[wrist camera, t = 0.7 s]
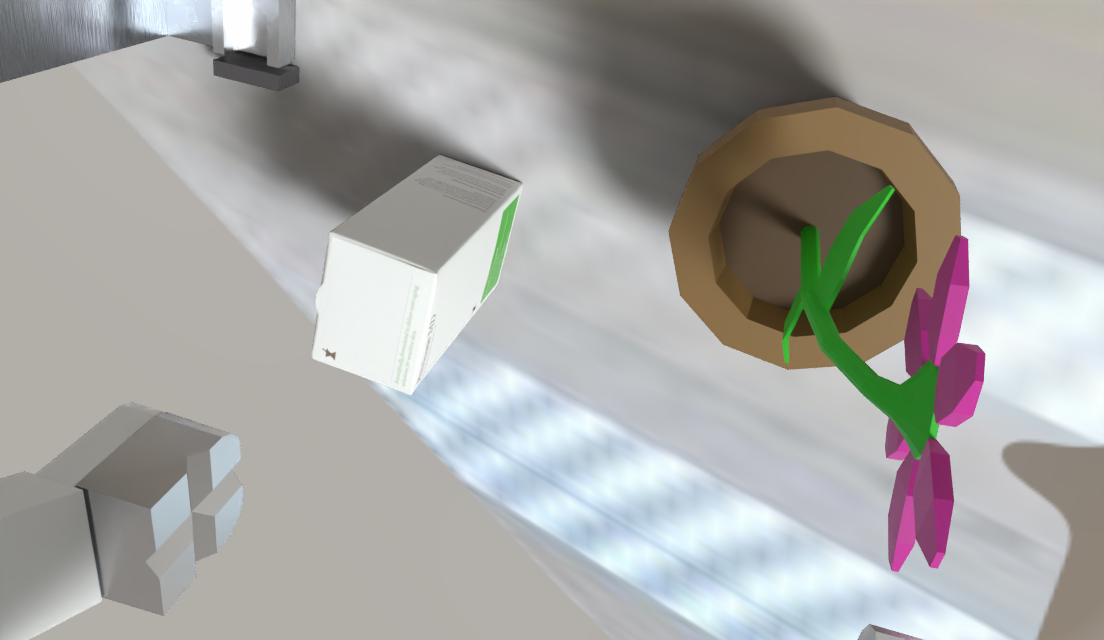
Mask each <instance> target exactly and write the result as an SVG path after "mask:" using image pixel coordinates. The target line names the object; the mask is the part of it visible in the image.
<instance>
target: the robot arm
mask: <svg viewBox="0 0 1104 640" xmlns="http://www.w3.org/2000/svg"><path fill="white" fill-rule="evenodd" d="M240 459H241V450H240V439H239V438H238V437H236V436H234V435H233V434H231V433H228V432H225V431H222V430H219V429H216V428H213V427H210V426H207V425H204V424H201V423H198V422H195V421H192V420H189V419H185V418H182V417H179V416H176V415H173V414H170V413H167V412H166V413H165V412H162V411H158V410H156V409H153V408H150V407H147V406H144V405H141V404H138V403H134V402H131V403H127V404H124V405H121V406H119V407H118V408H116V409H115V410H114V411H113V412H112V413H110V414H109V415H108V416H107V417H105V418H104V419H103V420H102V421H100V422H99V423H98V424H97V425H95V426H94V427H93V428H92V429H90V430H89V431H88V432H87V433H86V434H84V435H83V436H82V437H81V438H79V439H78V440H77V441H76V442H74V443H73V444H72V445H71V446H69V447H68V448H67V449H66V450H64V451H63V452H62V453H61V454H60V455H58V456H57V457H56V458H55V459H53V460H52V461H51V462H50V463H48V464H47V465H46V466H45V467H43V468H42V469H41V470H40V471H38V472H37V473H36V474H32V473H28V472H25V471H24V472H21V473H17V474H14V475H11V476H7V477H4V478H1V479H0V640H29V639H31V638H33V637H35V636H37V635H38V634H40V633H42V632H44V631H46V630H48V629H50V628H52V627H54V626H56V625H58V624H59V623H61V622H63V621H65V620H67V619H69V618H71V617H73V616H75V615H77V614H79V613H81V612H82V611H84V610H86V609H88V608H90V607H92V606H94V605H96V604H98V603H100V602H101V601H102V597H103V598H106V599H109V600H113V601H116V602H119V603H123V604H126V605H129V606H132V607H136V608H139V609H143V610H146V611H149V612H152V613H155V614H159V615H162V616H164V615H165V614H166V613H167V612H168V610H169V609H170V608H171V607H172V606H173V604H174V603H175V602H176V601H177V600H178V599H179V597H180V596H181V595H182V594H183V593H184V591H185V590H186V589H187V588H188V587H189V586H190V584H191V583H192V582H193V581H194V580H195V578H196V561H198V560H200V559H202V558H205V557H207V556H210V555H212V554H214V553H217V552H218V551H219V549H220V548H221V547H222V546H223V544H224V543H225V542H226V541H227V539H228V538H229V537H230V535H231V533H232V531H233V529H234V527H235V525H236V522H237V520H238V518H239V516H240V512H241V507H242V502H243V484H242V483H241V481H240V480H239V478H238V477H237V476H236V474H235V473H234V471H233V470H232V468H233V467H234V466H235V465H236V464H237V463H238V462H239V461H240ZM858 640H923V639H919V638H916V637H913V636H909V635H906V634H902V633H899V632H895V631H892V630H888V629H885V628H881V627H878V626H875V625H871V624H869V625H868V626H866V627H865V628H864V629H863V630H862V632H861V634H860V636H859V638H858Z"/></svg>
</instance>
